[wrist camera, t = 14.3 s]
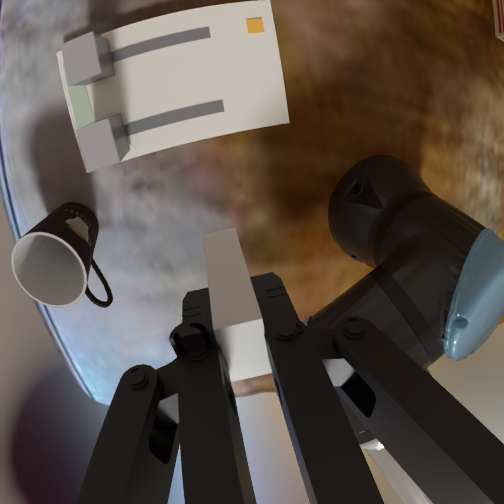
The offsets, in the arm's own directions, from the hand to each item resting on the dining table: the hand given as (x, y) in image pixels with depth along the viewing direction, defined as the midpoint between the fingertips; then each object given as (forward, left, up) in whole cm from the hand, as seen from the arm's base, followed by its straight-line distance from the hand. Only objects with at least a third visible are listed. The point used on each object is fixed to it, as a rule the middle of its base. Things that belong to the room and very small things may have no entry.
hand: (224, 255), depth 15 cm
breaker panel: (+1, -10, -20) cm, 23 cm away
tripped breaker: (+8, -14, -18) cm, 24 cm away
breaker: (+8, -6, -18) cm, 21 cm away
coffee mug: (+17, +5, -21) cm, 27 cm away
